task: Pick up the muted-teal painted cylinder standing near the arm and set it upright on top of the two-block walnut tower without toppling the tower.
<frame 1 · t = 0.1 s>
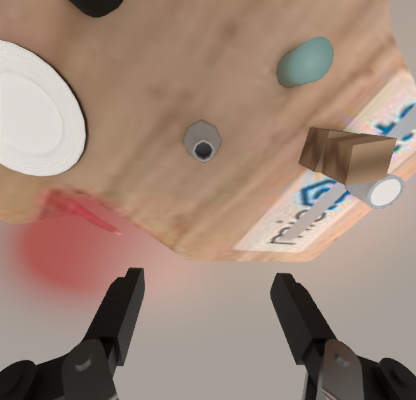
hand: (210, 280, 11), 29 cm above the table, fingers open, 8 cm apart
grey cup: (356, 180, 41), on the table
cylinder: (291, 70, 31), on the table
tower base: (320, 147, 38), on the table, touching tower top
flask: (202, 140, 36), on the table
plate: (28, 116, 33), on the table
tower top: (341, 154, 32), point 6 cm above the table, touching tower base
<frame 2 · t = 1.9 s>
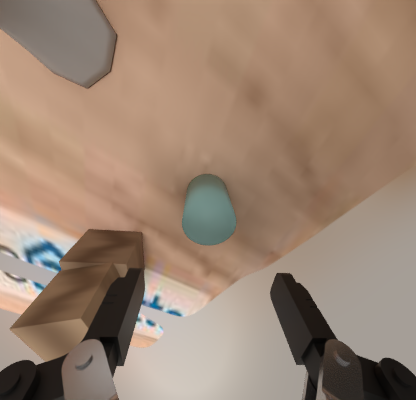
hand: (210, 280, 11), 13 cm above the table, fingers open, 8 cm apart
cylinder: (206, 193, 23), on the table
tower base: (118, 250, 27), on the table, touching tower top
flask: (75, 39, 17), on the table
tower top: (98, 285, 21), point 6 cm above the table, touching tower base
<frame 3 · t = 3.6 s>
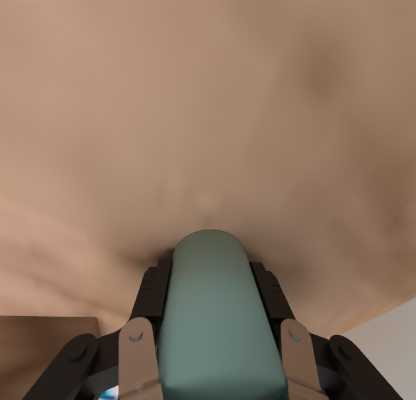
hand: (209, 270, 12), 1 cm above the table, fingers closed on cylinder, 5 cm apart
cylinder: (209, 259, 13), on the table, touching gripper
tower base: (60, 340, 16), on the table, touching tower top
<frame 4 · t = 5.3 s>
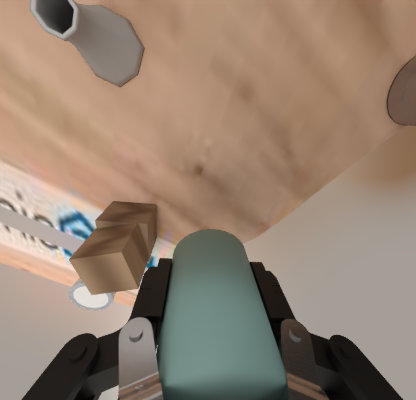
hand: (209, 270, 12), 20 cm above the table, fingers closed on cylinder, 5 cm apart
grey cup: (109, 265, 37), on the table
cylinder: (209, 259, 13), point 19 cm above the table, touching gripper
tower base: (136, 220, 33), on the table, touching tower top
flask: (113, 50, 22), on the table
tower top: (124, 242, 27), point 6 cm above the table, touching tower base
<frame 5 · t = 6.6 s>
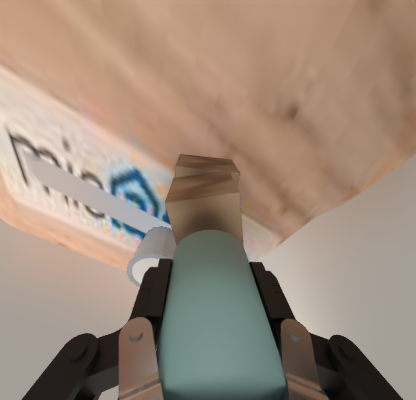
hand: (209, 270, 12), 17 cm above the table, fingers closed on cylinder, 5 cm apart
grey cup: (162, 239, 31), on the table
cylinder: (209, 259, 13), point 16 cm above the table, touching gripper
tower base: (203, 180, 27), on the table, touching tower top
tower top: (205, 198, 21), point 6 cm above the table, touching tower base
when the fingers open (14 cm above the table, at t = 7.4 s): cylinder drops 2 cm, resting on tower top.
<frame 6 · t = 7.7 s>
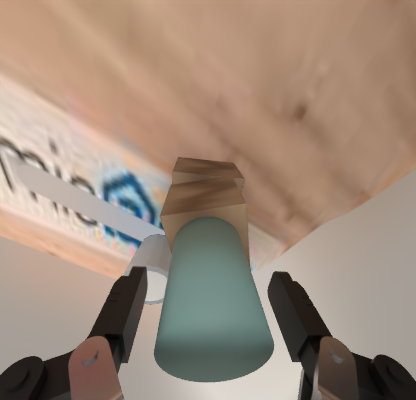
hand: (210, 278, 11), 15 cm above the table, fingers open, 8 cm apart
grey cup: (159, 248, 29), on the table
cylinder: (207, 244, 14), point 12 cm above the table, touching tower top
tower base: (203, 185, 25), on the table, touching tower top
tower top: (205, 206, 19), point 6 cm above the table, touching cylinder, tower base
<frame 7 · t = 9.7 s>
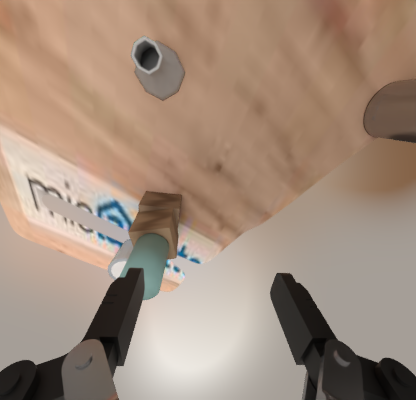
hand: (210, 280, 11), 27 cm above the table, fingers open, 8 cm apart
grey cup: (135, 247, 43), on the table
cylinder: (152, 246, 28), point 12 cm above the table, touching tower top
tower base: (163, 208, 39), on the table, touching tower top
flask: (160, 72, 29), on the table
tower top: (159, 224, 34), point 6 cm above the table, touching cylinder, tower base
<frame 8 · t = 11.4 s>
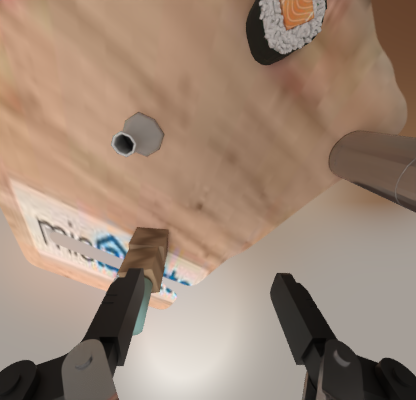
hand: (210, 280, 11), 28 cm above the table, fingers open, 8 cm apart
cylinder: (138, 284, 33), point 12 cm above the table, tilted 7°, touching tower top
sushi: (271, 31, 28), on the table
tower base: (152, 240, 44), on the table, touching tower top
flask: (143, 135, 34), on the table
tower top: (147, 258, 39), point 6 cm above the table, touching cylinder, tower base
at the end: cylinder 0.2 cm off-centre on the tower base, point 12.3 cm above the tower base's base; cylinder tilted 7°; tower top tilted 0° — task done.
